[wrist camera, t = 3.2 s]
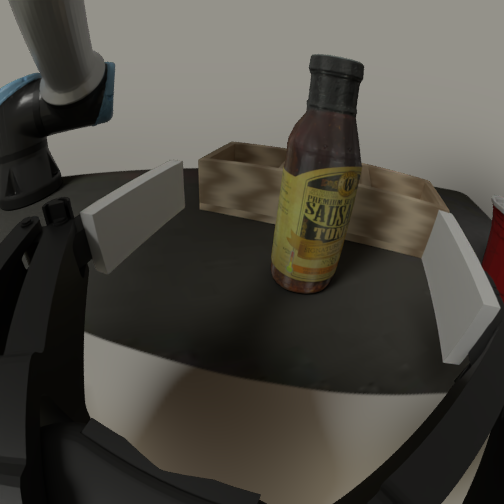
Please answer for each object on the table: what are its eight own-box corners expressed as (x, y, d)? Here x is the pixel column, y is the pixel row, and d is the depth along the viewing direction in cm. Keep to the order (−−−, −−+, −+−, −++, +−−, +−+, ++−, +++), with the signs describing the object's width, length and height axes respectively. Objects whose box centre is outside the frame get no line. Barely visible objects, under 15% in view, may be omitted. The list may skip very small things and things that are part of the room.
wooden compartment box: (199, 209, 39) (198, 159, 35) (230, 182, 47) (231, 141, 43) (430, 260, 31) (449, 211, 27) (417, 221, 40) (429, 181, 36)
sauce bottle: (292, 306, 24) (328, 49, 13) (257, 265, 29) (272, 51, 18) (347, 284, 27) (393, 69, 16) (310, 251, 32) (336, 62, 20)
